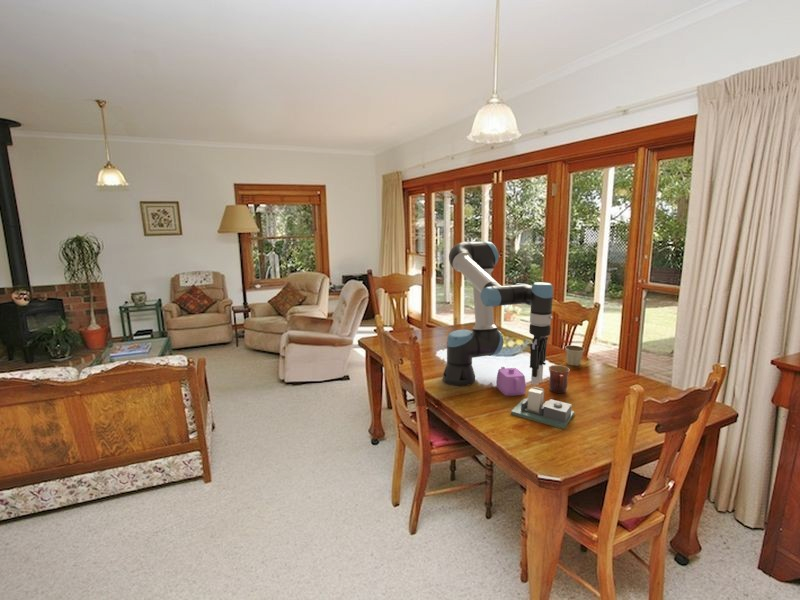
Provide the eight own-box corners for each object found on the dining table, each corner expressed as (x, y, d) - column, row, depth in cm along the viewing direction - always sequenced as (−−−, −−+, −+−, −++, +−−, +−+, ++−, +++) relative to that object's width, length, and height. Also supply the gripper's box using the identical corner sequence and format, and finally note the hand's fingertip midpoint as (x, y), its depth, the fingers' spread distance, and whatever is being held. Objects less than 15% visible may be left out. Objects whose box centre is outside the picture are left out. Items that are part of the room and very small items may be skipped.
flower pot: (566, 359, 220) (567, 344, 219) (585, 363, 215) (586, 347, 213) (561, 364, 213) (562, 348, 211) (580, 368, 208) (582, 352, 206)
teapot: (491, 382, 191) (492, 362, 189) (513, 381, 192) (514, 360, 190) (506, 399, 174) (507, 376, 171) (530, 398, 175) (531, 375, 173)
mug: (545, 385, 187) (547, 364, 185) (566, 387, 185) (567, 365, 183) (549, 397, 175) (551, 374, 173) (571, 398, 174) (573, 375, 172)
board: (510, 414, 161) (511, 400, 160) (523, 401, 172) (524, 388, 171) (563, 429, 149) (565, 414, 148) (574, 414, 160) (575, 400, 159)
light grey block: (527, 409, 162) (528, 390, 160) (531, 405, 165) (532, 386, 163) (538, 413, 159) (540, 393, 157) (542, 408, 162) (544, 389, 161)
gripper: (543, 330, 146) (539, 391, 151) (556, 320, 159) (552, 377, 164) (522, 327, 151) (519, 387, 155) (537, 318, 164) (534, 373, 168)
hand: (536, 382), depth 160 cm, fingers open, 3 cm apart
